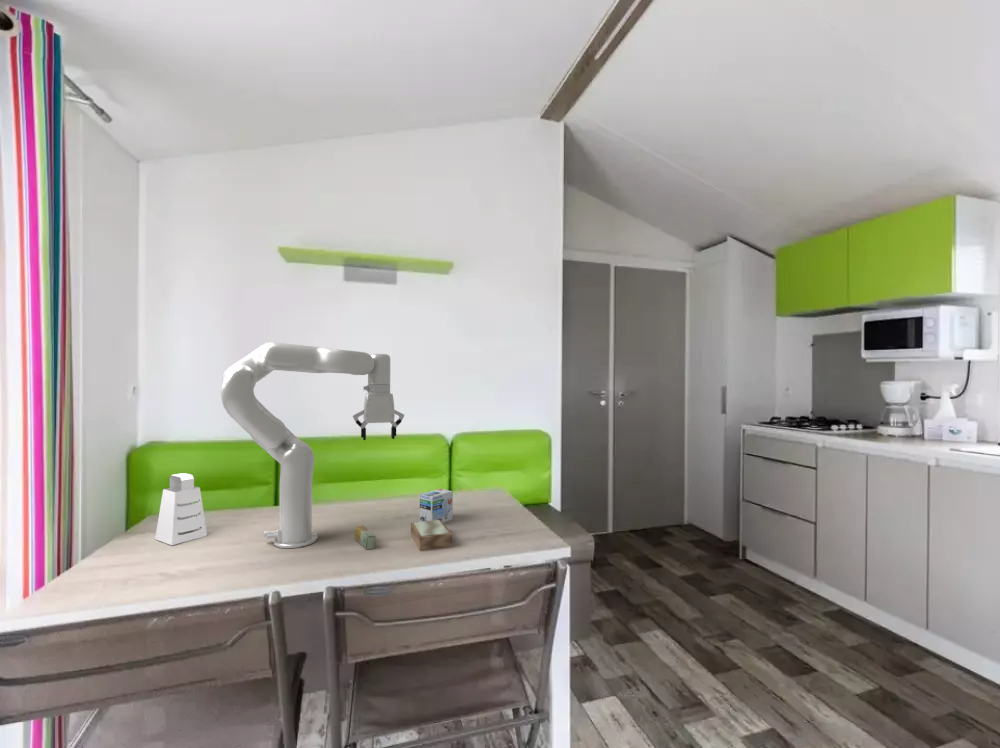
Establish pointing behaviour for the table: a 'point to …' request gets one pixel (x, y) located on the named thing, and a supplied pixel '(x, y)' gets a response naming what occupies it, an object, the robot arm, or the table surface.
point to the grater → (180, 511)
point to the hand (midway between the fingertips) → (378, 439)
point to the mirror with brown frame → (431, 535)
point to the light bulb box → (436, 505)
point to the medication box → (364, 537)
